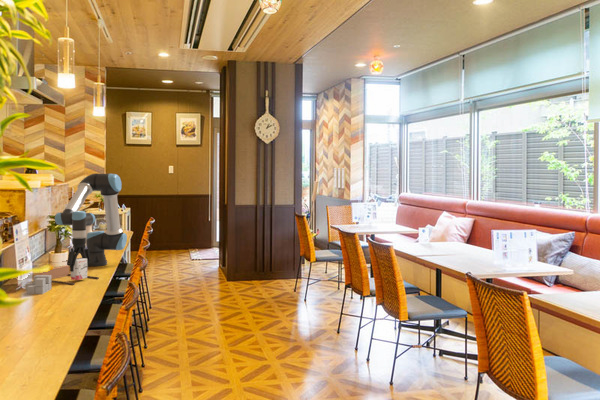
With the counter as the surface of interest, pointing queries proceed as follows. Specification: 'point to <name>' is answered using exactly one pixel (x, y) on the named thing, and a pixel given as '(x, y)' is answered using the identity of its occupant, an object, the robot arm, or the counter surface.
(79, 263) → the ink box
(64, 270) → the end stop
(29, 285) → the puzzle cube
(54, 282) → the guide rails
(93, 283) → the counter surface
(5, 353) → the counter surface
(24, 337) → the counter surface
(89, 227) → the water bottle
